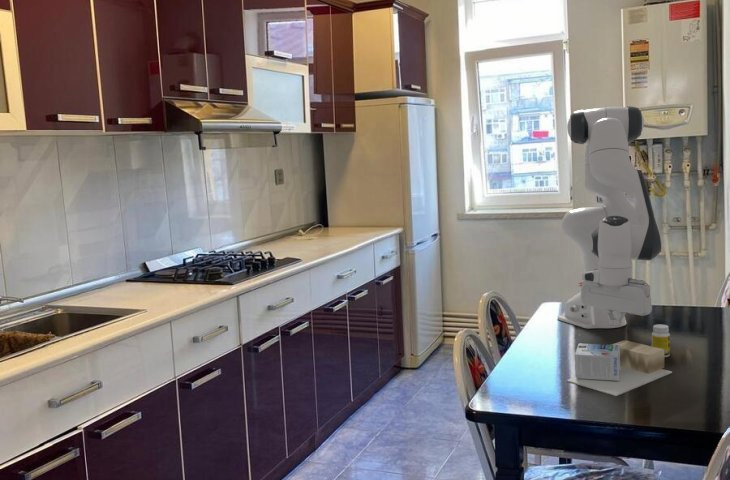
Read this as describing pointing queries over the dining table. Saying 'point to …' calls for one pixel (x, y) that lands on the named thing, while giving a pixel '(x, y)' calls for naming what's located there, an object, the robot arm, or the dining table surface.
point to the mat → (621, 381)
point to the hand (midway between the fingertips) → (615, 325)
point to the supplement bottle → (661, 338)
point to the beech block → (640, 357)
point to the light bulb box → (598, 362)
